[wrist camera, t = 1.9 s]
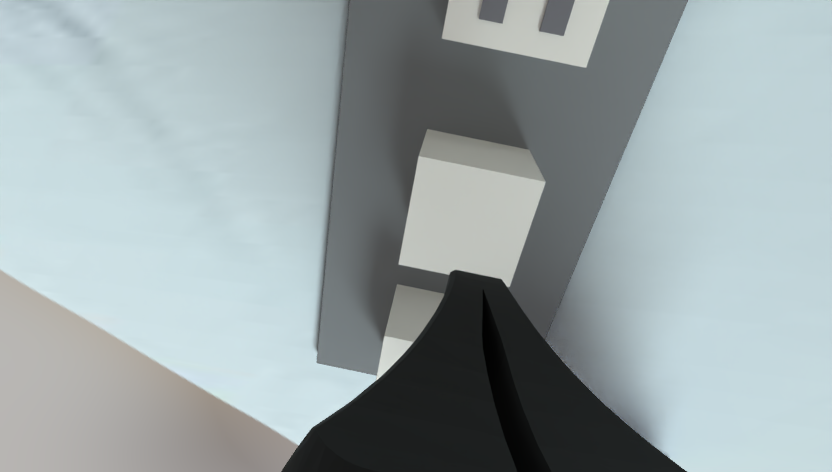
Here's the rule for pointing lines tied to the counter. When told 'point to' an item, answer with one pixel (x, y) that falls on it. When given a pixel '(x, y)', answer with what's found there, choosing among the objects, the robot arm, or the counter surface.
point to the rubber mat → (480, 119)
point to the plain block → (470, 206)
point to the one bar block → (406, 322)
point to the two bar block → (528, 27)
